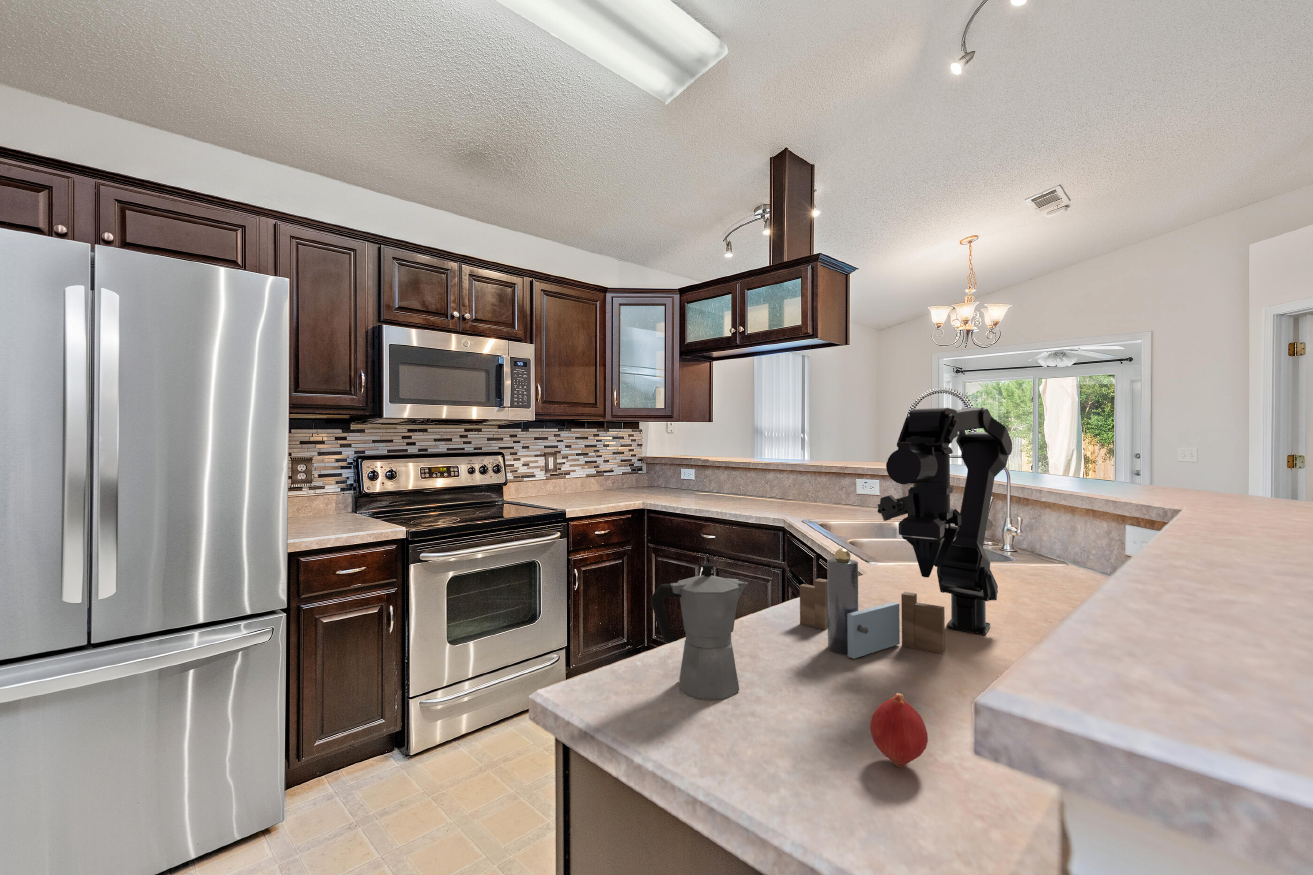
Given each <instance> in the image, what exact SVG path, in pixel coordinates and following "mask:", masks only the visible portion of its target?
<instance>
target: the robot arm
mask: <svg viewBox="0 0 1313 875" xmlns="http://www.w3.org/2000/svg"><path fill="white" fill-rule="evenodd" d="M902 425H903V426H902V428H901V430H900V432H899V433H900V434H899V437H898V439H897V441H896V442H897V443H896V447H897V449H896V450H894V451H893V452H892V453H891V454H890V455H889V457H888V458H887V462H886V463H885V468H886V473H887V475H888V477H890V480H892V481H893V482H895V483H897V484H899V485H910V484H911V485H912V486H910V487H909V488H908V489H907V490H908V492H907V494H908V495H905V496H902V497H898V498H895V497H894V496H893V495H892V494H890V495H886V496H882V497H880V499H879V500H880V501H879V503H878V504H877V513H878V514H880V515H881V517H882V519H883V520H882V521H883V522H887V521H890V520H892V519H893V518H898V517H900V516H906V515H907V516H906V517H904V518H902V520H900V521H899V522H898V535H900V536H901V538H902V539H903V540H905V541H906V542H908V543H909V544H910V545H911V546H912V549H913V551H914V555H915V558H916V561H917V564H918V568H919V572H920V574H921V577H922V578H930V576H931V574H932V571H933V569H934V567H936V575H937V581H938V582H937V583H938V586H939V591H940V593H943V594H944V593H946V594H950V596H951V597H950V601H951V602H950V603H951V604H950V607H951V608H950V609H951V610H950V612H951V613H950V614H951V615H950V617H951V618H950V620H949V621H948V622H947V623H946V624H945V625H946V626H945V627H946V628H947V629H952V630H958V631H963V632H968V633H974V634H979V635H986V634H987V632H988V631H989V629H990V627H991V623H990V622H987V620H986V618H987V617H986V616H987V614H986V610H987V609H986V606H987V605H986V604H987V603H986V602H990V601H997V600H998V594H999V593H998V592H999V590H998V583H997V581H996V579H995V577H994V575H993V573H992V570H991V562H990V558H989V557H988V555H987V553H986V551H985V548H984V544H985V543H984V542H985V536H986V532H987V525H988V519H989V513H990V512H989V511H990V508H991V500H992V495H993V488H994V483H995V482H994V481H995V477H997V475H998V474H1000V473H1001V472H1002V471H1003V470H1004V469H1005V468H1006V466H1007V464H1008V459H1009V457H1010V455H1011V454H1012V451H1013V442H1012V438H1011V436H1010V434H1009V433H1010V432H1009V431H1008V429H1007V427H1006V426H1005V425H1004V424H1003V423H1001V422H999V421H998V420H997V419H995V418H994V417H993V416H992V415H991V411H989V409H988V408H984V407H965V408H964V407H963V408H961V409H957V410H956V409H954V408H951V407H937V408H934V407H933V408H932V407H931V408H913V409H911V410H910V411H909V412H908V415H907V416H906V417H905V419H904V423H903V424H902ZM975 429H983V432H981V431H978V432H977V431H976V432H975V431H974V432H972V431H971V430H975ZM969 430H970V432H968V433H966V431H969ZM954 439H955V441H956V443H957V445H958V448H959V450H960V451H961V455H960V458H961V459H962V461H963V464H964V465H965V467H966V468H967V473H966V479H965V484H964V490H963V495H962V501H961V505H960V512H959V510H957V509H956V508H951V494H953V492H954V491H953V489H954V488H953V486H951V475H950V474H951V465H950V464H951V462H950V461H951V457H950V456H951V455H953V454H954V451H953V448H951V446H950V444H952V442H953V440H954ZM951 525H952V526H951ZM953 525H954V526H953Z"/></svg>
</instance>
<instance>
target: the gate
mask: <svg viewBox="0 0 1313 875" xmlns="http://www.w3.org/2000/svg"><path fill="white" fill-rule="evenodd" d="M900 620H901V619H900V603H899V602H895V601H892V602H891V601H890V602H886V603H884V604H880V605H875V606H872V607H869V608H864V609H861V610H860V609H859V610H858V611H856V612H852V613H848V614H847V622H848V655H847V657H849V658H851V659H853V660H854V659H857V658H860V657H863V656H867V655H869V654H873V653H876V652H878V651H882V650H885V649H888V648H891V647H894V646H899V645H901V644H900V643H901V642H900V641H901V640H900V639H901V633H900V632H901V631H900V630H901V629H900Z"/></svg>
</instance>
